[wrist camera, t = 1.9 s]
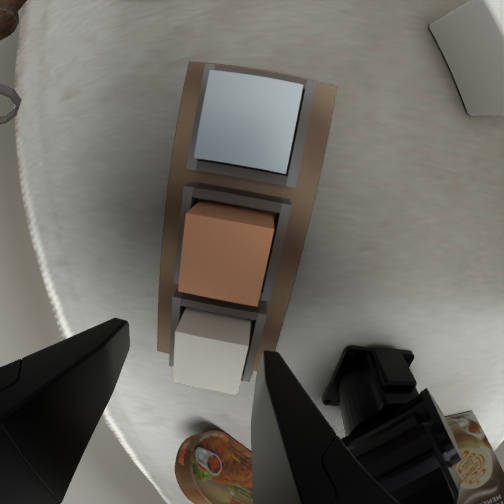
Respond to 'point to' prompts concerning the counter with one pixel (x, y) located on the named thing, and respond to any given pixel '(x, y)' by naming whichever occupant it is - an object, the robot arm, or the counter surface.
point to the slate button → (248, 120)
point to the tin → (214, 469)
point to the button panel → (243, 196)
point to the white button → (210, 350)
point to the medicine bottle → (475, 53)
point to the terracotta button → (225, 252)
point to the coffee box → (476, 462)
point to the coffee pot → (4, 24)
